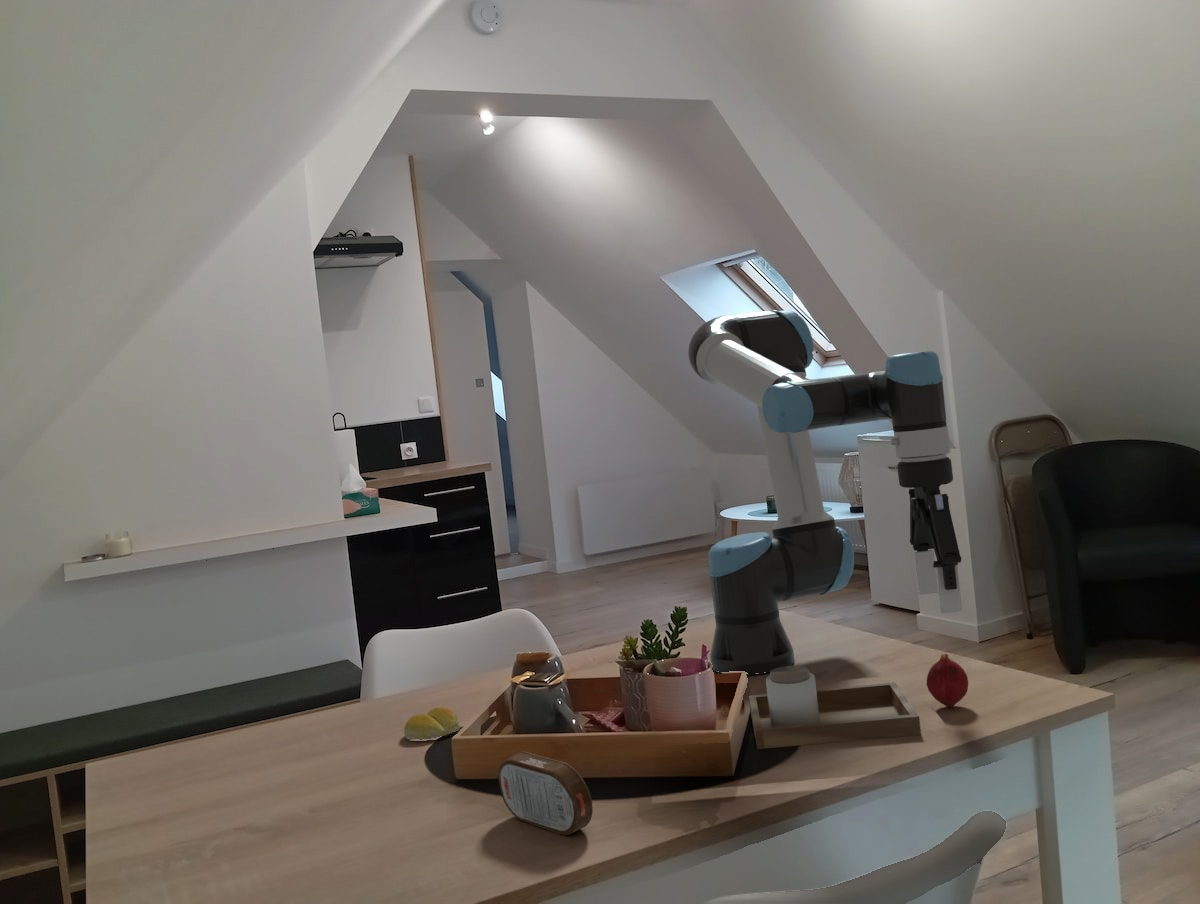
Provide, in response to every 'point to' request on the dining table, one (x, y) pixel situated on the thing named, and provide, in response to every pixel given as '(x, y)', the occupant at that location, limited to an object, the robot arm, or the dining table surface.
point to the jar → (792, 696)
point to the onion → (947, 681)
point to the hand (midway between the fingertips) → (939, 602)
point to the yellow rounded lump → (432, 724)
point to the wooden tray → (841, 717)
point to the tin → (545, 793)
